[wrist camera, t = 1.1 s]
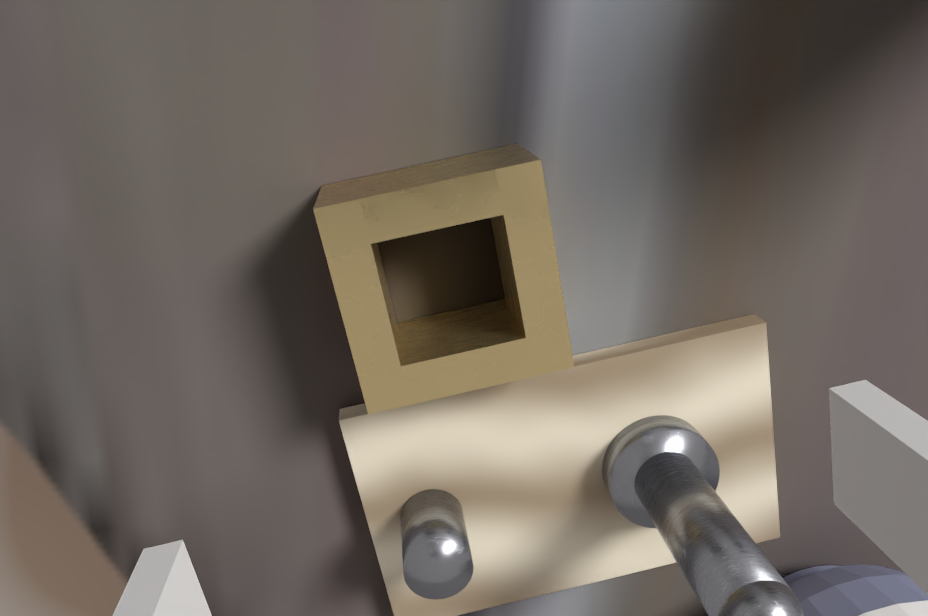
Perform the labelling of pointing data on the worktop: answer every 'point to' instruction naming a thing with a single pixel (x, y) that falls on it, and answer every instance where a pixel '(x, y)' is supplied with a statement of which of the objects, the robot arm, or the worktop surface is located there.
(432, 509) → the short steel post
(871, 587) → the bowl
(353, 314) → the brass collar
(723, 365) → the birch board
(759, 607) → the tall steel post
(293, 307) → the worktop surface
